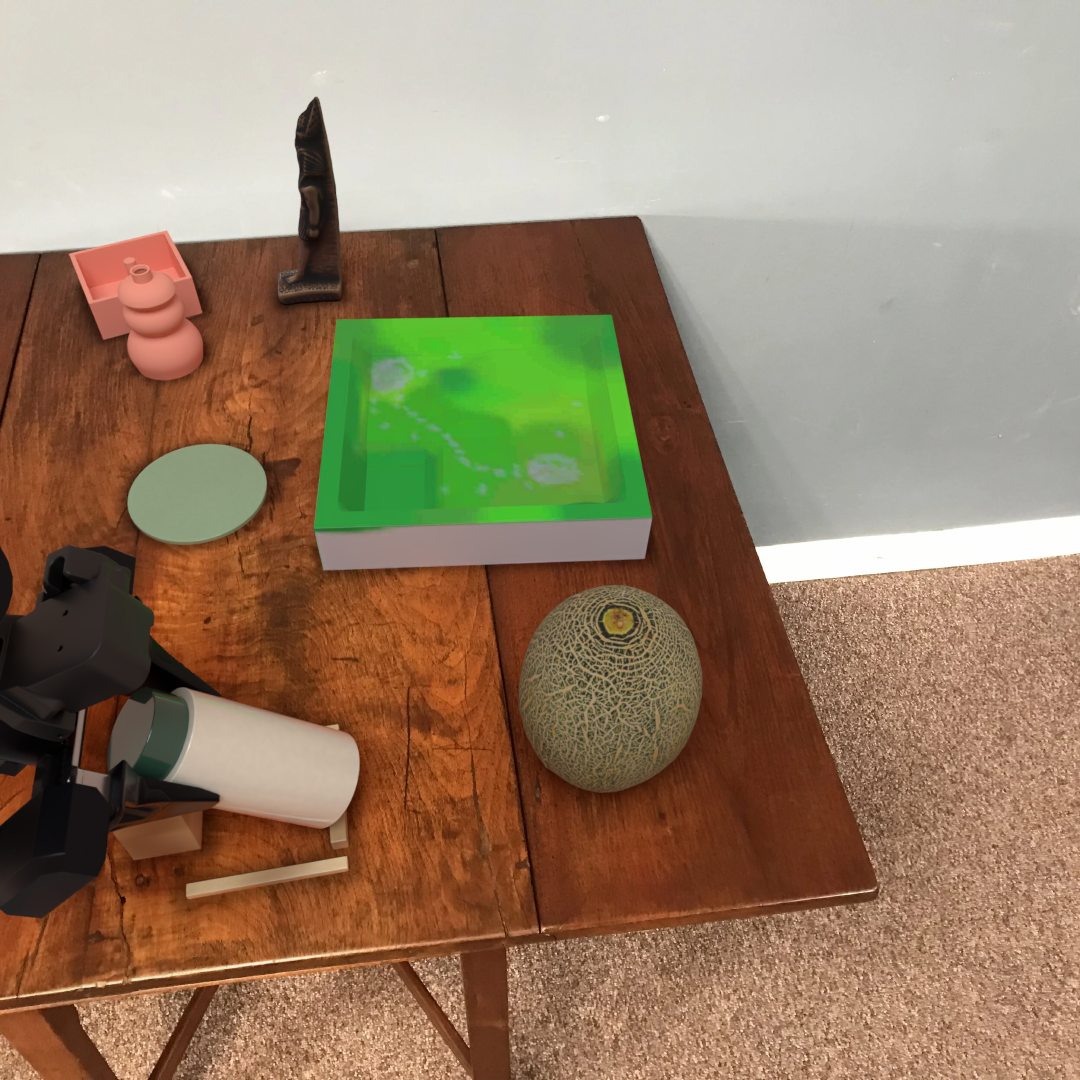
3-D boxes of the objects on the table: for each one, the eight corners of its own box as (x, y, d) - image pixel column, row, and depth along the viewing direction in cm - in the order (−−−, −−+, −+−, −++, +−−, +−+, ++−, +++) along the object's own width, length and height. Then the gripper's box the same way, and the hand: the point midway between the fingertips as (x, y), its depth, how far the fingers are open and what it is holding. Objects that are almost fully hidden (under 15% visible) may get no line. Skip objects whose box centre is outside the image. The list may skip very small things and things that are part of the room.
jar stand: (130, 910, 55) (96, 872, 51) (142, 758, 62) (114, 712, 57) (350, 871, 57) (337, 831, 53) (341, 727, 64) (328, 680, 59)
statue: (279, 283, 96) (238, 85, 81) (349, 278, 97) (322, 82, 82) (279, 308, 93) (237, 108, 78) (351, 302, 94) (323, 104, 79)
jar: (155, 871, 57) (77, 773, 47) (161, 780, 60) (90, 672, 51) (371, 832, 58) (341, 730, 49) (364, 746, 62) (335, 636, 52)
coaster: (143, 563, 72) (141, 559, 72) (117, 470, 78) (115, 466, 78) (284, 519, 75) (283, 515, 75) (248, 433, 82) (247, 429, 81)
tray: (606, 358, 90) (611, 314, 86) (644, 559, 74) (652, 517, 70) (343, 363, 88) (336, 319, 84) (323, 571, 72) (313, 528, 68)
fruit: (531, 662, 67) (538, 525, 56) (687, 685, 67) (726, 552, 55) (503, 810, 60) (504, 688, 49) (677, 839, 59) (720, 721, 48)
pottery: (83, 290, 94) (47, 200, 87) (178, 266, 97) (151, 177, 90) (126, 396, 84) (89, 305, 77) (229, 366, 87) (204, 275, 80)
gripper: (-45, 785, 34) (311, 852, 44) (31, 433, 46) (298, 549, 56) (-167, 902, 39) (179, 937, 49) (-70, 556, 50) (193, 642, 61)
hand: (217, 750), depth 53 cm, fingers closed on jar, 6 cm apart
